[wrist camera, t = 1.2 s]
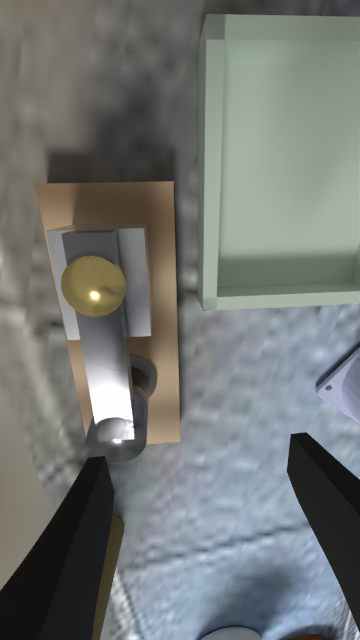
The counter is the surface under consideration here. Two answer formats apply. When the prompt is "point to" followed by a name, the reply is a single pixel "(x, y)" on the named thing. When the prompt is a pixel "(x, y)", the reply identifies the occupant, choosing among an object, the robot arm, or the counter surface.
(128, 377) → the lever
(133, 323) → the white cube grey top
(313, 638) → the bread roll
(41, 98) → the counter surface
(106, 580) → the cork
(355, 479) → the robot arm
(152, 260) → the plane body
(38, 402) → the counter surface
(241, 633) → the supplement tub
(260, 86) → the tray
